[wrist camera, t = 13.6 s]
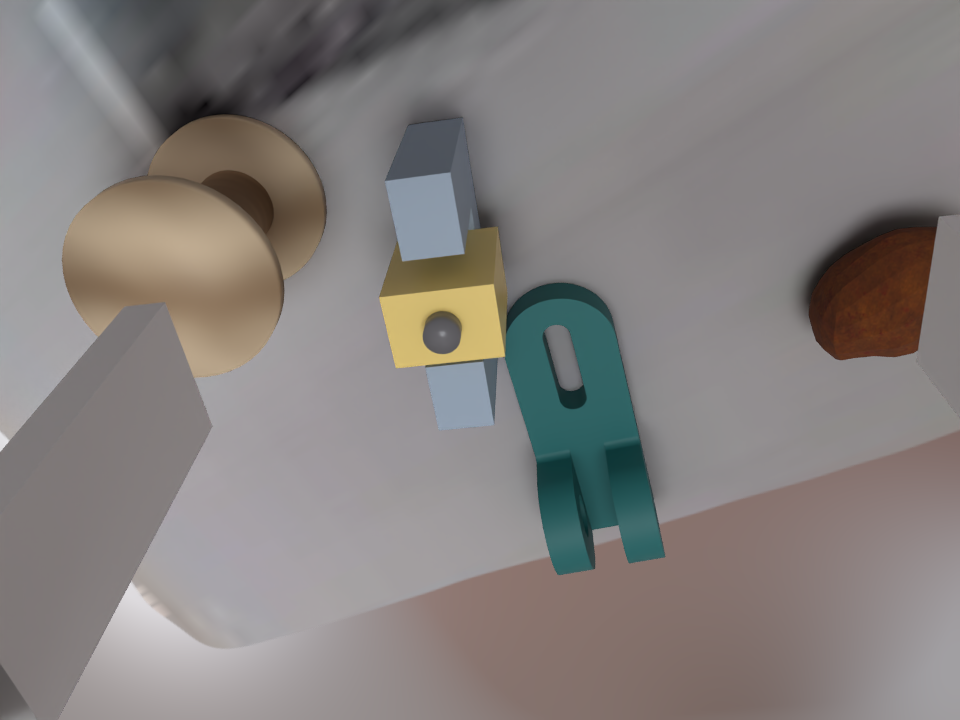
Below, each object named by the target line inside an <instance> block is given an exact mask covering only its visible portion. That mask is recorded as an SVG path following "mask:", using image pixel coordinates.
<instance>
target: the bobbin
mask: <svg viewBox="0 0 960 720" xmlns="http://www.w3.org/2000/svg"><path fill="white" fill-rule="evenodd" d="M326 214H327V209H326V198H325V193H324V189H323V186H322V183H321V180H320V178H319V175H318V173H317V171H316V169H315V167H314V166H313V164H312V163H311V161H310V160H309V158H308V157H307V156H306V154H305V153H304V152H303V151H302V149H301V148H300V147H299V146H298V145H297V144H296V143H294V142H293V141H292V140H291V139H290V138H289V137H287V136H286V135H285V134H283V133H282V132H280V131H279V130H277V129H276V128H274V127H272V126H270V125H268V124H266V123H264V122H261V121H259V120H256V119H253V118H249V117H245V116H239V115H229V114H222V115H211V116H207V117H202V118H200V119H197V120H194V121H192V122H190V123H188V124H186V125H185V126H183V127H181V128H180V129H179V130H178V131H176V132H175V133H174V134H173V135H171V136H170V137H169V138H168V139H167V140H166V141H165V142H164V143H163V144H162V145H161V146H160V148H159V149H158V151H157V152H156V154H155V155H154V158H153V160H152V162H151V165H150V168H149V172H148V175H147V176H140V177H135V178H130V179H126V180H124V181H121V182H118V183H116V184H114V185H112V186H110V187H108V188H107V189H105V190H103V191H102V192H101V193H100V194H98V195H97V196H96V197H95V198H93V199H92V200H91V201H90V202H89V203H87V204H86V205H85V206H84V207H83V208H82V209H81V210H80V211H79V213H78V214H77V215H76V216H75V218H74V220H73V221H72V223H71V224H70V227H69V229H68V232H67V234H66V236H65V241H64V246H63V255H62V265H63V274H64V279H65V283H66V287H67V289H68V292H69V295H70V297H71V300H72V302H73V304H74V305H75V307H76V309H77V311H78V313H79V314H80V316H81V317H82V318H83V320H84V321H85V323H86V324H87V325H88V326H89V327H90V329H91V330H92V331H93V332H94V333H95V334H96V335H97V336H98V337H99V336H100V335H101V333H102V332H103V331H104V330H105V329H106V328H107V326H108V325H109V324H110V323H111V322H112V321H113V319H114V318H115V317H116V316H117V315H118V314H119V312H120V311H121V310H122V309H123V308H124V307H125V306H134V305H143V304H152V303H161V302H165V303H166V306H167V308H168V311H169V314H170V316H171V319H172V322H173V324H174V327H175V329H176V332H177V335H178V337H179V340H180V343H181V345H182V348H183V350H184V353H185V356H186V358H187V361H188V364H189V366H190V369H191V371H192V374H193V377H194V378H195V377H208V376H214V375H219V374H223V373H226V372H229V371H232V370H234V369H236V368H238V367H240V366H242V365H243V364H245V363H247V362H248V361H250V360H251V359H252V358H253V357H254V356H255V355H257V354H258V353H259V352H260V350H261V349H262V348H263V347H264V346H265V344H266V343H267V341H268V340H269V338H270V336H271V334H272V333H273V331H274V329H275V327H276V325H277V323H278V320H279V318H280V315H281V312H282V307H283V303H284V280H285V279H287V278H289V277H290V276H292V275H293V274H295V273H296V272H298V271H299V270H300V269H301V268H302V267H303V266H304V265H305V264H306V263H307V262H308V261H309V259H310V258H311V257H312V255H313V253H314V252H315V250H316V248H317V246H318V244H319V242H320V240H321V237H322V235H323V232H324V228H325V224H326Z"/></svg>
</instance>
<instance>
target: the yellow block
mask: <svg viewBox="0 0 960 720" xmlns="http://www.w3.org/2000/svg"><path fill="white" fill-rule="evenodd" d="M379 299H380V303H381V307H382V312H383V316H384V320H385V324H386V328H387V333H388V337H389V341H390V345H391V349H392V354H393V358H394V362H395V366H396V368H404V367H413V366H423V365H432V364H441V363H451V362H460V361H470V360H479V359H489V358H498V357H505V346H506V318H507V286H506V280H505V273H504V266H503V260H502V253H501V246H500V239H499V233H498V227H490V228H482V229H474V230H468V233H467V240H466V247H465V254H460V255H451V256H443V257H435V258H427V259H418V260H410V261H402V258H401V253H400V248H399V244H398V240H397V243H396V247H395V250H394V253H393V256H392V259H391V262H390V265H389V268H388V271H387V275H386V278H385V281H384V284H383V287H382V290H381V293H380V296H379Z"/></svg>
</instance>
